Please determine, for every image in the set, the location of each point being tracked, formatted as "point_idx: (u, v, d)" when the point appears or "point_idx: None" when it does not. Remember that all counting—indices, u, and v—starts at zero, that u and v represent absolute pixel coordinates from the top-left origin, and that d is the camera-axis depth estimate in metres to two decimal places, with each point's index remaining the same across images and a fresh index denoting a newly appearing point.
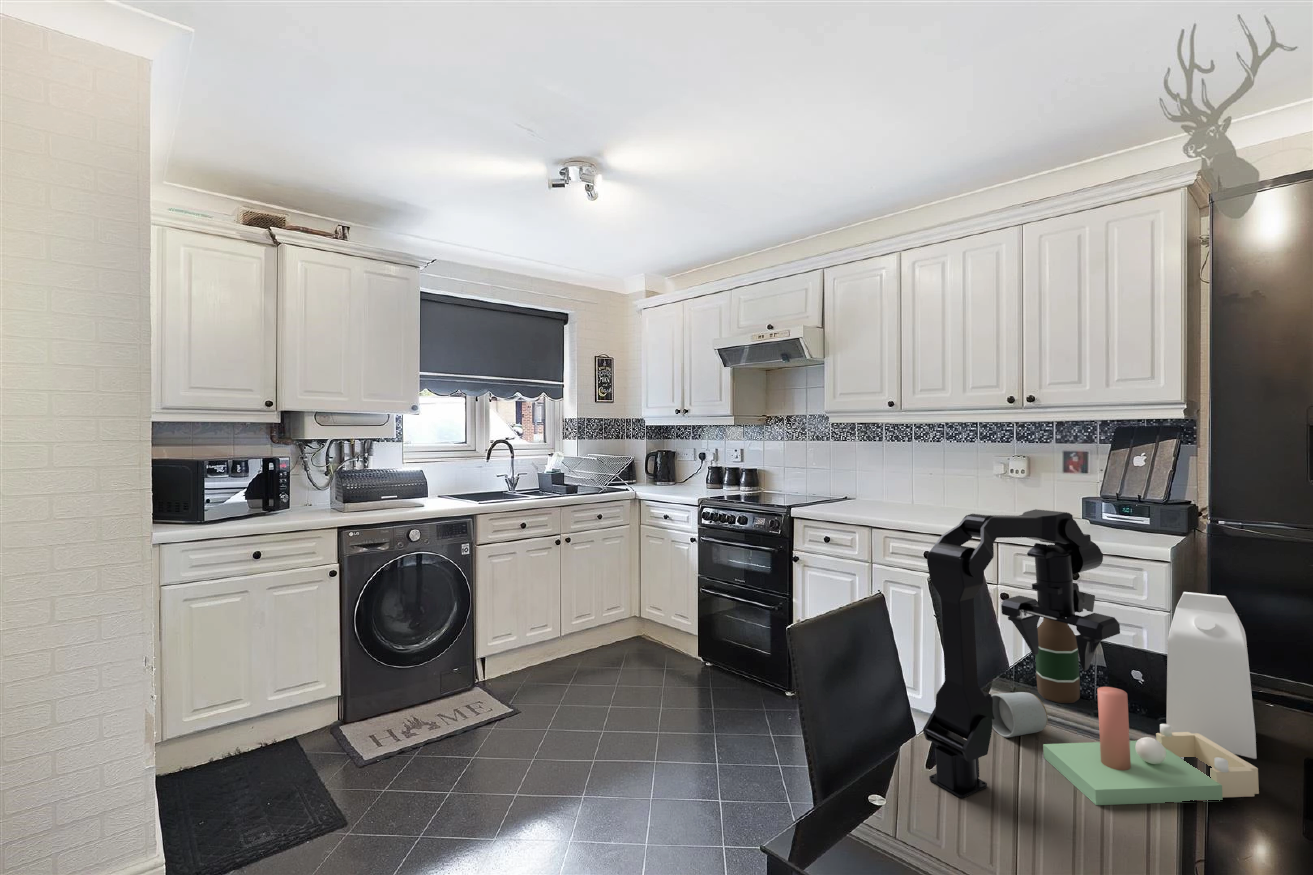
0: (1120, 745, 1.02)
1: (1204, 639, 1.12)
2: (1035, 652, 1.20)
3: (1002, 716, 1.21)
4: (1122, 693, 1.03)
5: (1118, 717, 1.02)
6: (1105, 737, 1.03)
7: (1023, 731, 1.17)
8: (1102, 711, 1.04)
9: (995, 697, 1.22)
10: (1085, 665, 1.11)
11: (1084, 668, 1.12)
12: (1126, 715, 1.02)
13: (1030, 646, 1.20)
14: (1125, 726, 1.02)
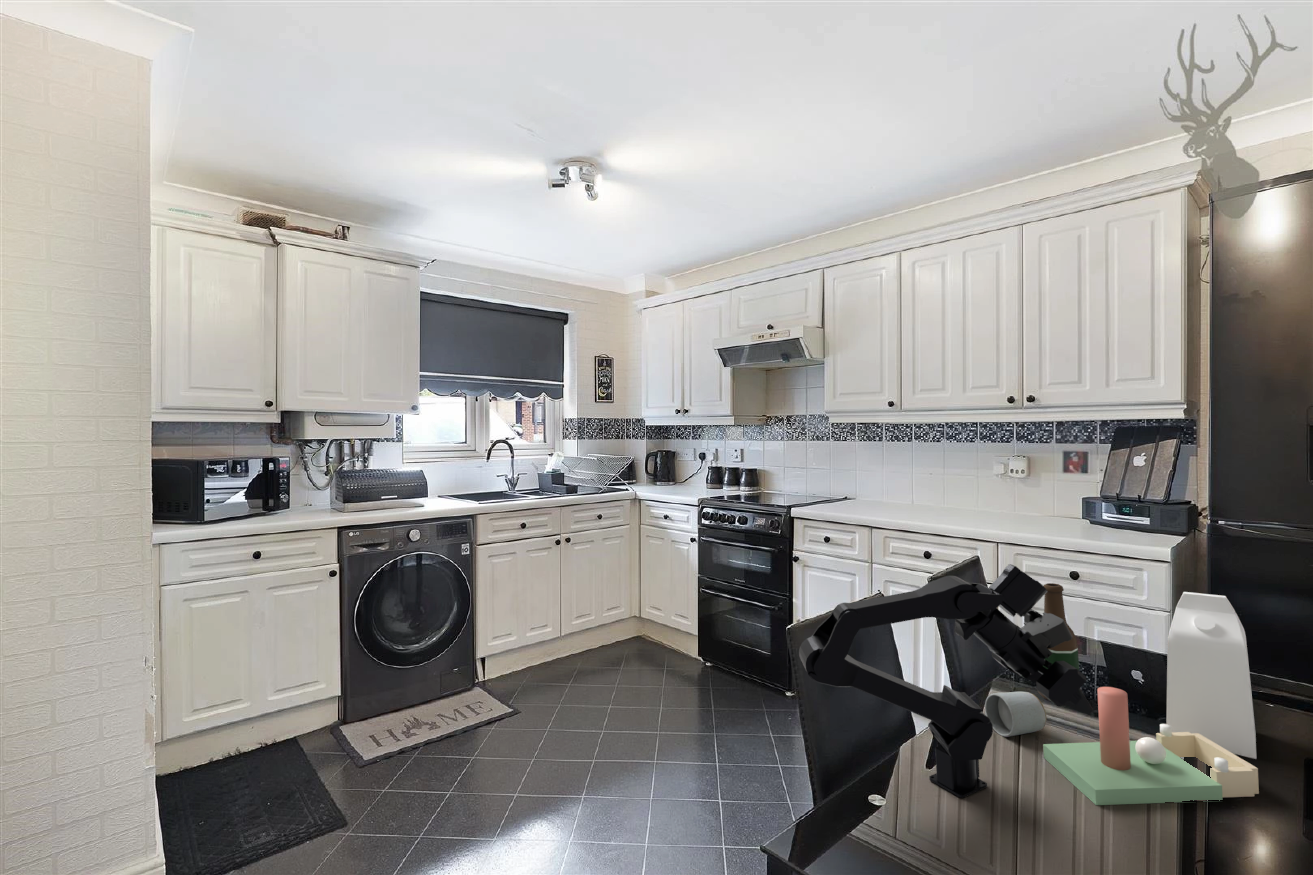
0: (1120, 745, 1.02)
1: (1204, 639, 1.12)
2: None
3: (1001, 715, 1.21)
4: (1122, 693, 1.03)
5: (1118, 717, 1.02)
6: (1105, 737, 1.03)
7: (1022, 731, 1.17)
8: (1102, 711, 1.04)
9: (994, 696, 1.23)
10: (1084, 711, 0.99)
11: (1086, 713, 0.99)
12: (1126, 715, 1.02)
13: None
14: (1125, 726, 1.02)
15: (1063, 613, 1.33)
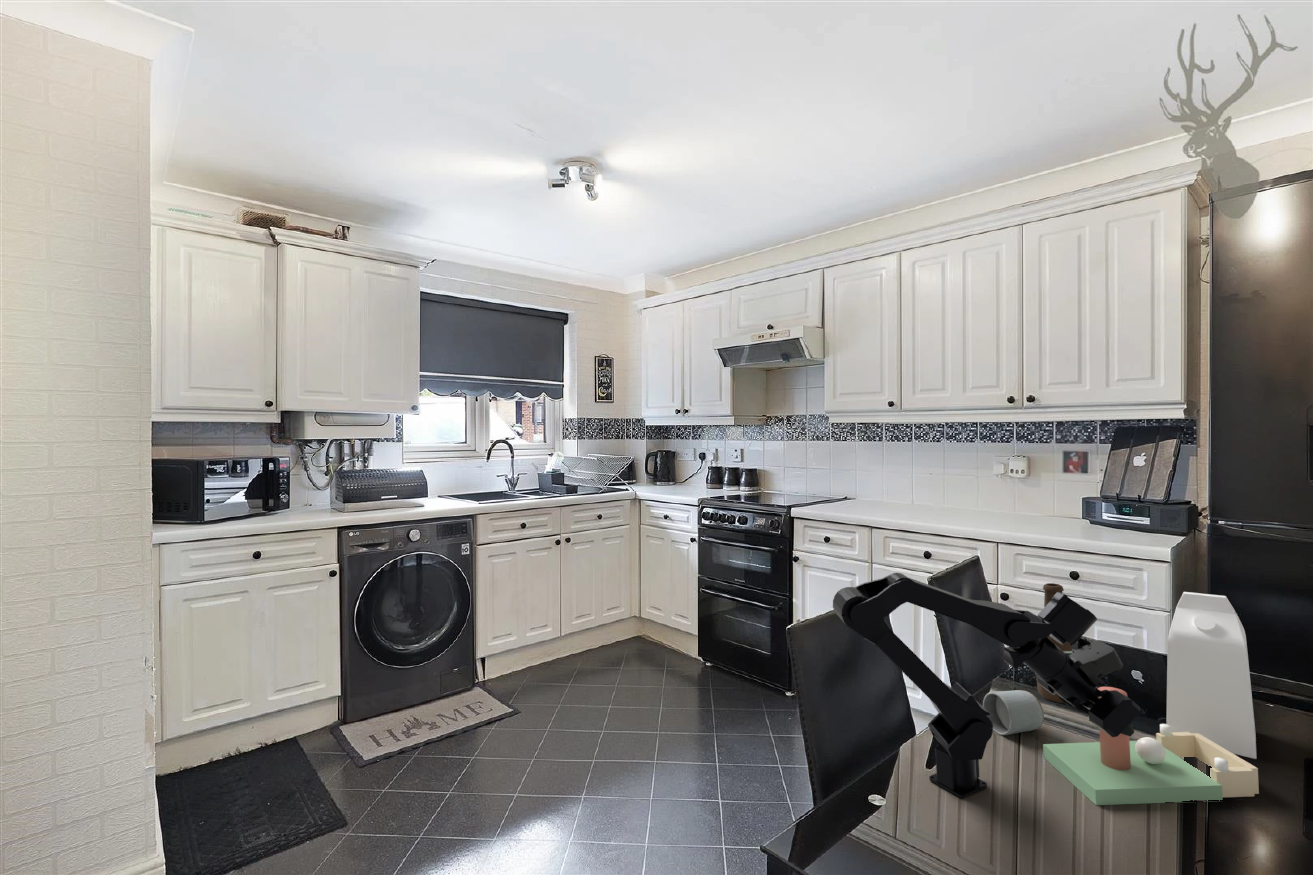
0: (1120, 745, 1.02)
1: (1204, 639, 1.12)
2: None
3: (999, 714, 1.22)
4: (1122, 693, 1.03)
5: None
6: (1105, 737, 1.03)
7: (1020, 729, 1.18)
8: None
9: (992, 695, 1.23)
10: (1125, 733, 1.01)
11: (1128, 735, 1.01)
12: None
13: None
14: None
15: None
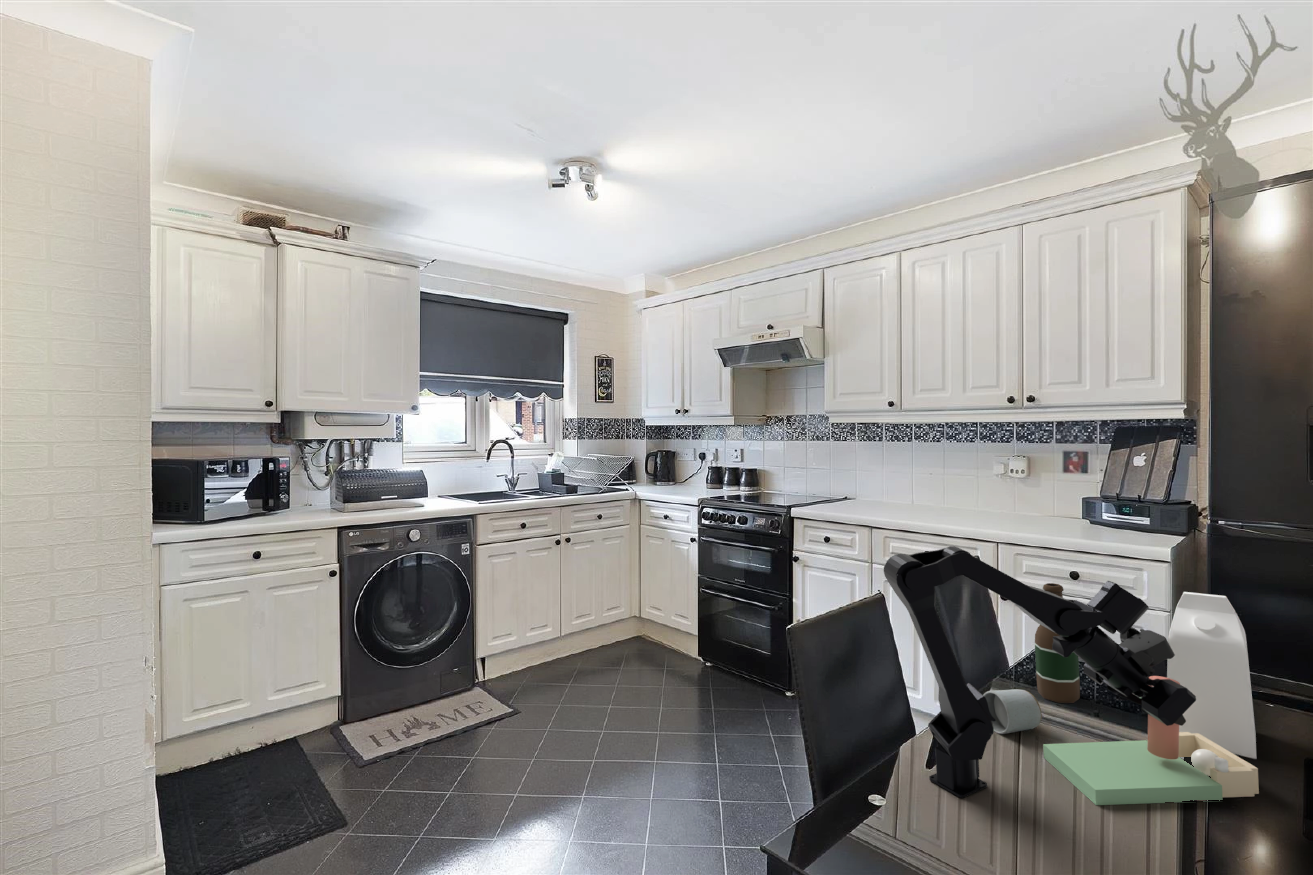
0: (1170, 734, 1.02)
1: (1204, 639, 1.12)
2: None
3: (997, 713, 1.23)
4: None
5: None
6: (1155, 726, 1.03)
7: (1017, 728, 1.19)
8: None
9: (990, 694, 1.24)
10: (1177, 723, 1.01)
11: (1179, 724, 1.01)
12: None
13: None
14: None
15: None
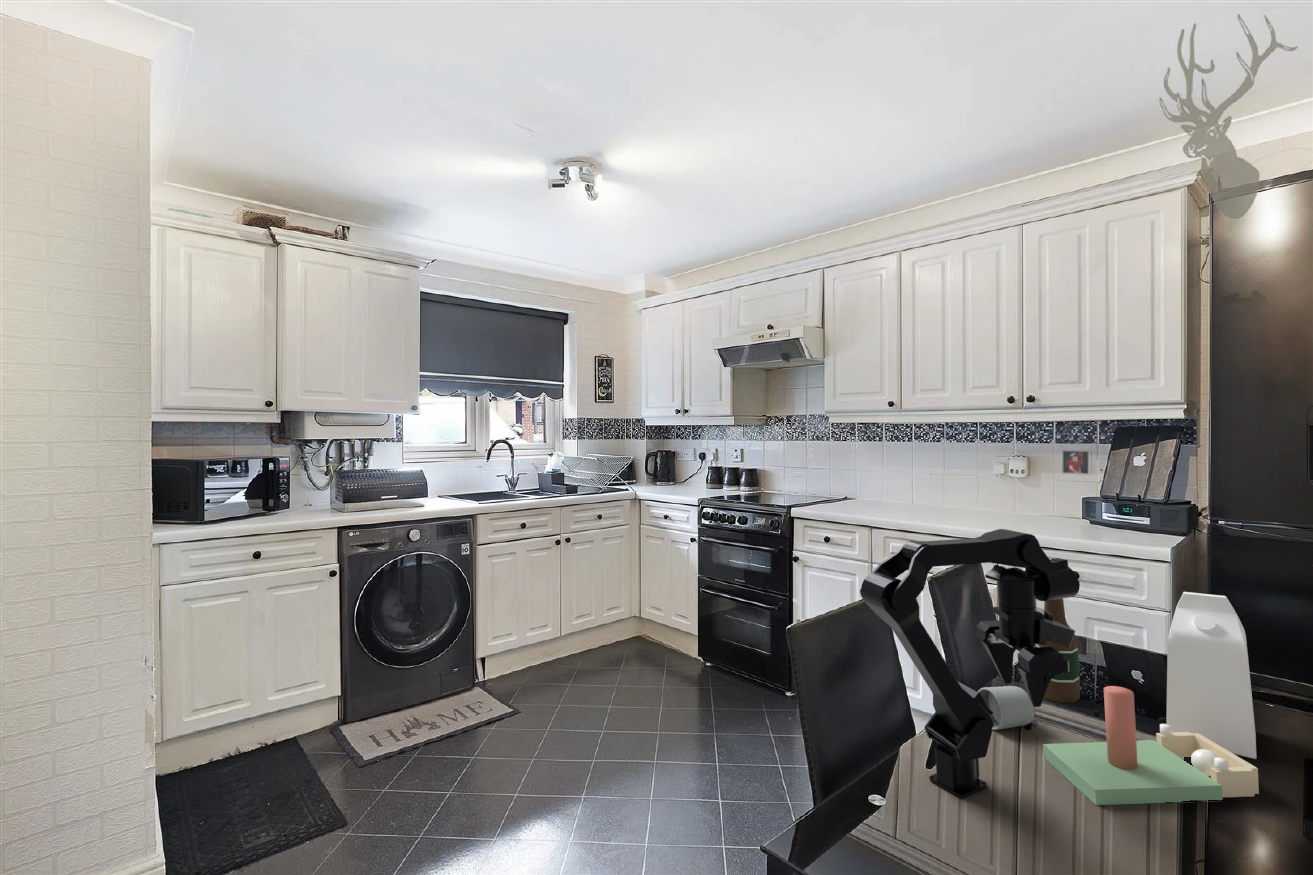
0: (1127, 744, 1.02)
1: (1204, 639, 1.12)
2: (1006, 681, 1.12)
3: (991, 709, 1.24)
4: (1129, 692, 1.03)
5: (1124, 716, 1.02)
6: (1112, 737, 1.03)
7: (1011, 724, 1.20)
8: (1109, 711, 1.04)
9: (984, 691, 1.25)
10: (1033, 701, 1.03)
11: (1033, 704, 1.03)
12: (1133, 714, 1.02)
13: (1000, 673, 1.13)
14: (1132, 725, 1.02)
15: (1063, 613, 1.33)
